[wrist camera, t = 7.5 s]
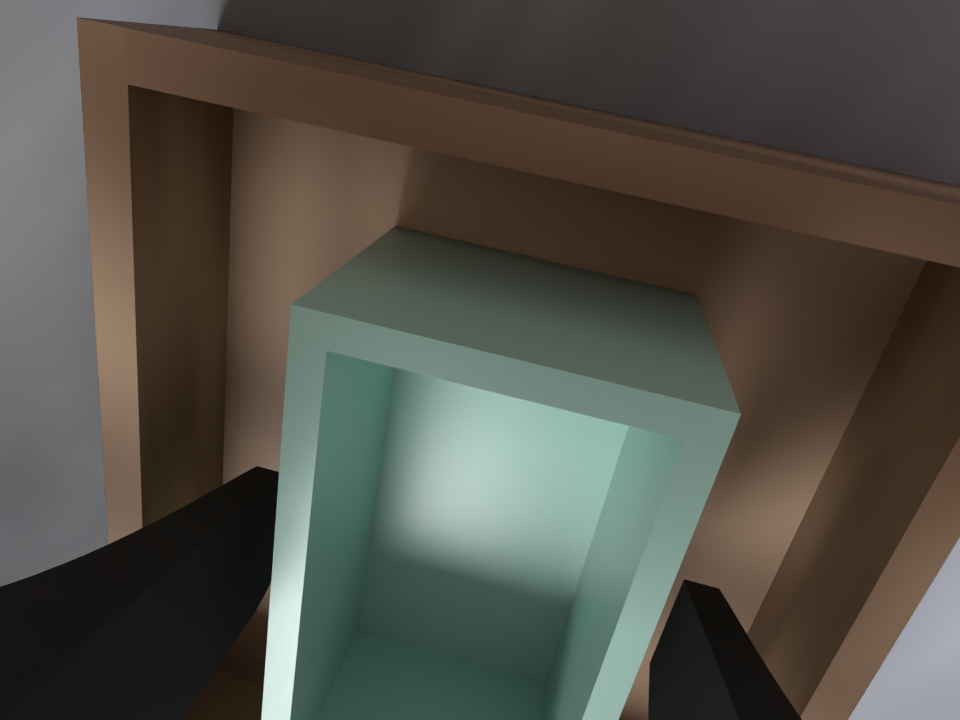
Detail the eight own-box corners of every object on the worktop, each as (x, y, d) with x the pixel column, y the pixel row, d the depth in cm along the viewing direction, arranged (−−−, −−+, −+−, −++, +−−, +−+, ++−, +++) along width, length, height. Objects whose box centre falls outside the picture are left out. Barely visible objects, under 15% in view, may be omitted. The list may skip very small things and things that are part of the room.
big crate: (691, 786, 18) (709, 944, 14) (204, 644, 19) (121, 764, 15) (988, 192, 11) (1139, 243, 8) (215, 30, 12) (77, 17, 9)
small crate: (563, 687, 16) (547, 897, 12) (341, 625, 17) (255, 807, 13) (696, 295, 12) (741, 414, 8) (395, 225, 12) (290, 304, 8)
